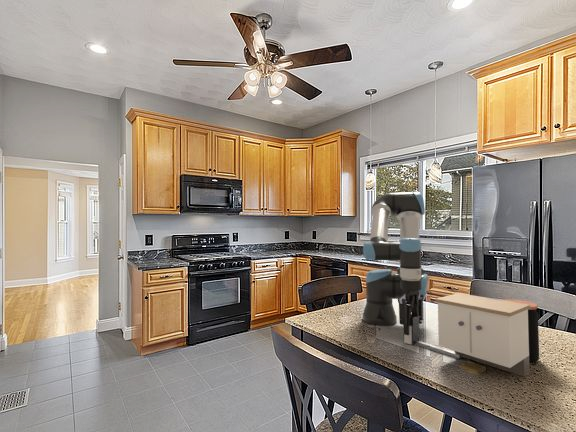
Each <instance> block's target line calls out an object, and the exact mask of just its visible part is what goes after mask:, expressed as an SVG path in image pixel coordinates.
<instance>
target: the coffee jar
mask: <svg viewBox="0 0 576 432" xmlns="http://www.w3.org/2000/svg"><path fill="white" fill-rule="evenodd" d="M503 300H504V301H510V302H516V303H522V304H528V305H530V309H528V335H529V365H532V364H536V363H537V362H538V361H539V359H540V341H539V339H540V338H539V335H540V334H539V313H538V311H537V309H538V308H539V307H538V306H539V305H538V304H537V303H534V302H531V301H526V300H521V299H520V300H519V299H508V298H507V299H505V298H504V299H503Z"/></svg>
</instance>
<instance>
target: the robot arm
mask: <svg viewBox="0 0 576 432" xmlns="http://www.w3.org/2000/svg"><path fill="white" fill-rule="evenodd" d="M423 196H424V195H423V194H422V192H420V191H407V192H386V193H385V194H382V195H381V196H379V197H378V198H377V199H376V200H375V201H374V202H373V204H372V206H371V210H370V212H371V213H370V214H371V216H372V217H371V219H372V220H371V227H370V235H369V236H370V237H369V241H365V242H364V243H363V245H362V246H363V249H362V250H363V252H362V253H363V258H364V259H366V260H372V261H399V267H398V268H397V269H396V272H393V270H392V269H391V268H388V269H387V268H385V269H384V268H382V269H381V268H380V269H374V270H373V269H372V270H369V271H368V272H367V273H366V276H365V278H366V279H365V286H366V287H365V289H366V293H365V295H366V296H365V297H366V298H365V299H366V301H365V302H366V303H365V307H364V309H363V313H362V321H363V322H365V323H368V324H370V323H371V325H375V324H376V325H377V326H391V325H395V324H396V323H397V319H398V318H399V319H398V321H399V325H402V326H404V327H403V343H405V344H407V345H410V346H412V345H411V344H412V326H410V321H411V314H413V315H417V316H419V325H422V324H423V320H424V300H425V299H426V297H427V289H428V278H429V275H428V274H426V273H425V269H423V268H422V245H421V239H420V225H419V224H420V220H421V219H422V217H423V215H425V213H426V211H425V210H426V209H425V202H424V201H425V200H424V197H423ZM390 216H396V219H397V220H398V221H399V237H400V238H399V241H389V239H388V238H389V222H390V221H389V219H390ZM393 300H397V302H398V314H399V315H398V318H397V315H396V311H395V307H394V305H393V304H394V303H393Z"/></svg>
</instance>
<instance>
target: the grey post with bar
mask: <svg viewBox="0 0 576 432" xmlns="http://www.w3.org/2000/svg"><path fill="white" fill-rule="evenodd" d="M402 326H403V325H402ZM410 326H412V344H411V345H410V346H418V347H422V348H424V349H428V350H431V351H434V352H437V353H440V354H443V355H445V356H449V357H452V358H455V359H458V360H461V359H463V357H462V354H459V353H456V352H455V351H454V350H451V349H447V348H444V347H441V346H436V345H434V344H430V343H426V342H423V341H420V323H419V316H417V315H413V314H412V313H411V321H410ZM403 328H404V326H403Z"/></svg>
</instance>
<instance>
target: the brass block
mask: <svg viewBox="0 0 576 432" xmlns="http://www.w3.org/2000/svg"><path fill="white" fill-rule="evenodd" d="M486 367H487V366H485V365H481V364H479V363H475V362H472V361H469V360H468V361H465V362H463V363H462V364H460V367H459V368H460V370H464V371H467V372H469V373H472V374H475V375H477V376H478V375H479V374H482V373H483V372H485V371H486V369H487V368H486Z"/></svg>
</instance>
